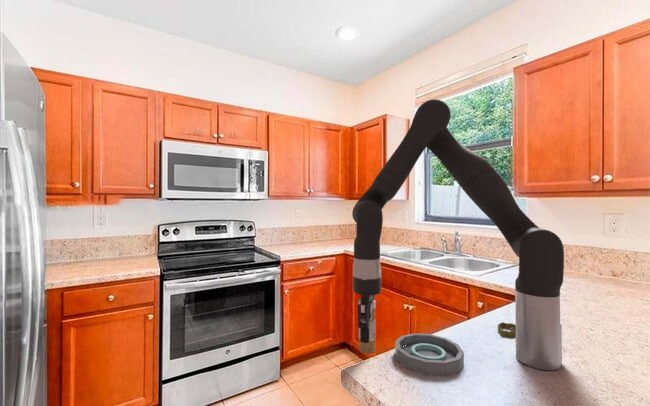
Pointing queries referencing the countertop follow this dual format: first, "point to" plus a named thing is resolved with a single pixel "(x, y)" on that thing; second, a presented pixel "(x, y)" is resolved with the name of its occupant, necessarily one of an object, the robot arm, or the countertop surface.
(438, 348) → the grey ring dish
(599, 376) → the countertop surface
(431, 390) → the countertop surface
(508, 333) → the cookie cutter
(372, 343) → the sprinkles bottle
